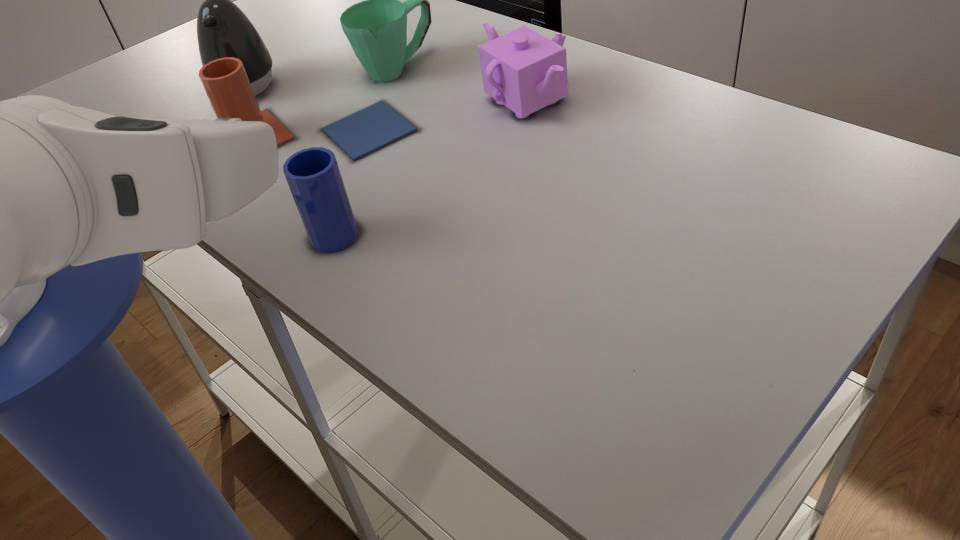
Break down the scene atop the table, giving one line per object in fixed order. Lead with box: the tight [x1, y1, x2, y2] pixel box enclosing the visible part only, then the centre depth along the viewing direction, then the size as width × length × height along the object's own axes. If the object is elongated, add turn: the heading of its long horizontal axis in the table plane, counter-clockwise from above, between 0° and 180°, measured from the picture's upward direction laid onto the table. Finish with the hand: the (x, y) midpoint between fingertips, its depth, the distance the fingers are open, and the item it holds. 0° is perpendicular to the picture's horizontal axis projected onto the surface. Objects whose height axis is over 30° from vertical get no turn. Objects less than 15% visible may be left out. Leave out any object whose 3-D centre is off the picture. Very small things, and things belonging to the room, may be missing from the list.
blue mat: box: [321, 100, 418, 162], centre depth 107 cm, size 10×10×1 cm
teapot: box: [477, 22, 569, 119], centre depth 104 cm, size 18×13×10 cm
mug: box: [339, 0, 432, 83], centre depth 115 cm, size 15×10×10 cm
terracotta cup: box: [198, 57, 265, 122], centre depth 105 cm, size 6×6×11 cm
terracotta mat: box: [260, 108, 295, 148], centre depth 109 cm, size 10×10×1 cm
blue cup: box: [282, 146, 359, 253], centre depth 87 cm, size 6×6×11 cm
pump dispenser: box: [196, 0, 273, 97], centre depth 114 cm, size 10×10×15 cm
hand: (169, 127), depth 53 cm, fingers open, 8 cm apart
